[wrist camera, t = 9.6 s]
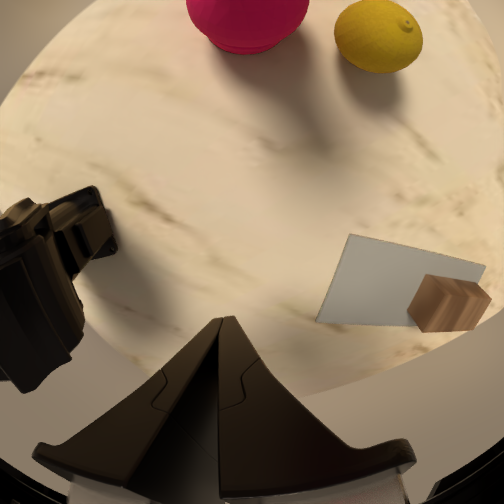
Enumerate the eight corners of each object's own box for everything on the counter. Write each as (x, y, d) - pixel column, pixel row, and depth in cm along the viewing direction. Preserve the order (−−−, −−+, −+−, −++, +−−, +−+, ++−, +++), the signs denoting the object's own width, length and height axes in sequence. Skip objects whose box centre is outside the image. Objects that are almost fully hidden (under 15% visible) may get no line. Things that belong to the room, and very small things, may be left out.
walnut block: (422, 332, 24) (472, 330, 25) (444, 294, 22) (492, 299, 23) (406, 310, 27) (458, 312, 29) (425, 273, 25) (475, 282, 27)
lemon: (364, 14, 14) (415, -18, 7) (394, 69, 16) (456, 60, 9) (308, 27, 15) (344, -13, 8) (341, 87, 17) (394, 75, 10)
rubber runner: (315, 320, 27) (316, 322, 27) (349, 233, 23) (350, 234, 23) (452, 324, 30) (453, 325, 30) (485, 265, 26) (486, 266, 26)
